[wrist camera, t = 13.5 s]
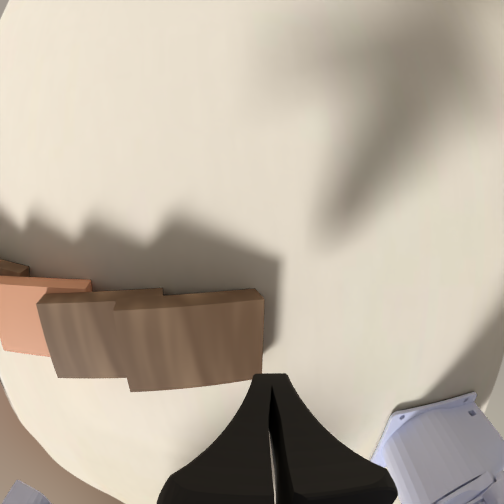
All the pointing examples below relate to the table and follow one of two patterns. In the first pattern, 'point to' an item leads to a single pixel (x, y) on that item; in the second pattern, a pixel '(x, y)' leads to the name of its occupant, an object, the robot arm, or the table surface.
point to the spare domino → (29, 310)
